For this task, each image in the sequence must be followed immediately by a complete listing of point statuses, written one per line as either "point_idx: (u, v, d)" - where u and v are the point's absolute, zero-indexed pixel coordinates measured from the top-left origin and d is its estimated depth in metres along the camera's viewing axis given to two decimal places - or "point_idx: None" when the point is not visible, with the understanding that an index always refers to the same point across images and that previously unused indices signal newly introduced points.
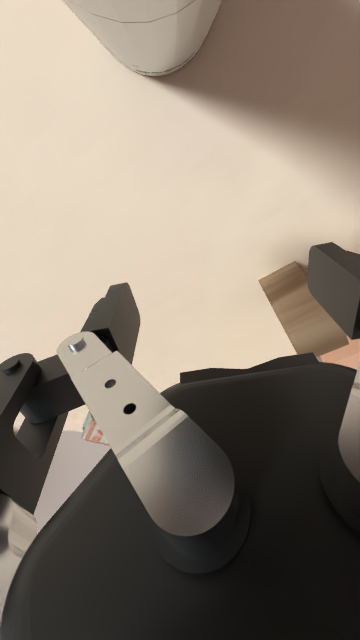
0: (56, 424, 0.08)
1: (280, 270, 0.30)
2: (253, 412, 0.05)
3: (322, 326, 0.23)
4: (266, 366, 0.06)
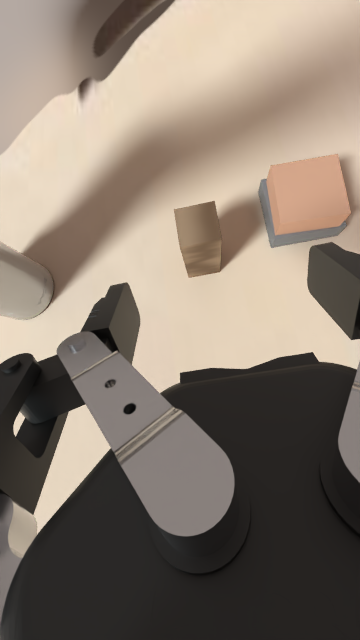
0: (56, 424, 0.08)
1: None
2: (253, 412, 0.05)
3: (183, 220, 0.28)
4: (266, 366, 0.06)
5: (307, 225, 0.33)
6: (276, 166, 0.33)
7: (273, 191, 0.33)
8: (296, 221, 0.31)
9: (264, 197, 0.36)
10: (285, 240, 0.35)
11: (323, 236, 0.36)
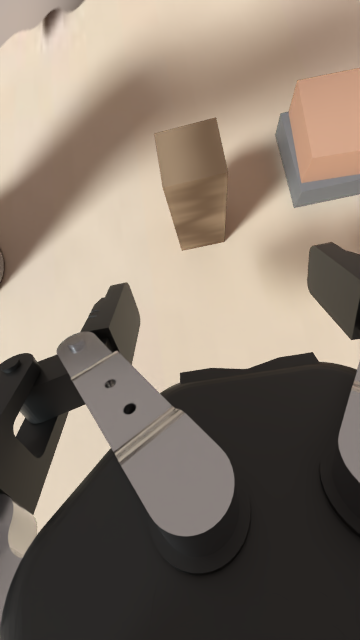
0: (56, 424, 0.08)
1: None
2: (253, 412, 0.05)
3: (169, 148, 0.18)
4: (266, 366, 0.06)
5: (350, 164, 0.23)
6: (305, 81, 0.23)
7: (300, 117, 0.23)
8: (336, 154, 0.21)
9: (285, 137, 0.26)
10: (316, 193, 0.25)
11: None
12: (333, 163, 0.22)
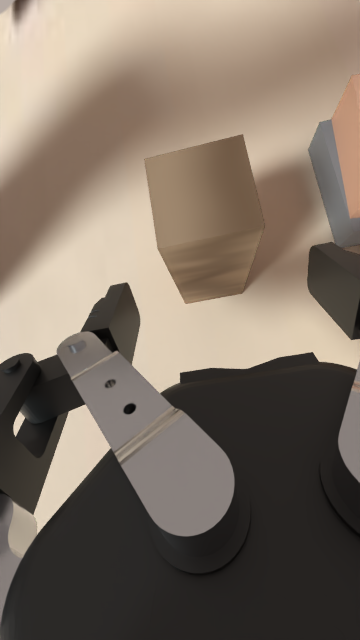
0: (56, 424, 0.08)
1: None
2: (253, 412, 0.05)
3: (168, 183, 0.12)
4: (266, 366, 0.06)
5: None
6: None
7: (355, 127, 0.16)
8: None
9: (326, 154, 0.19)
10: None
11: None
12: None
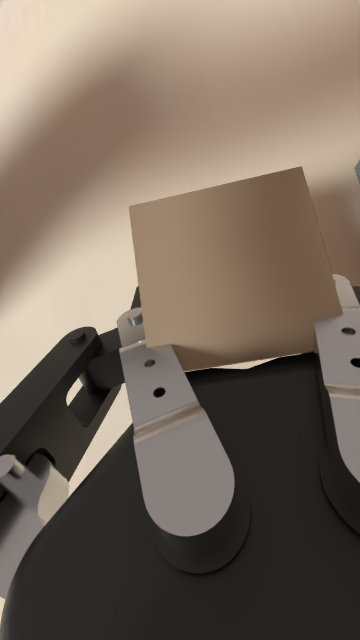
0: (106, 399, 0.09)
1: None
2: (253, 412, 0.05)
3: (169, 252, 0.07)
4: (266, 366, 0.06)
5: None
6: None
7: None
8: None
9: None
10: None
11: None
12: None
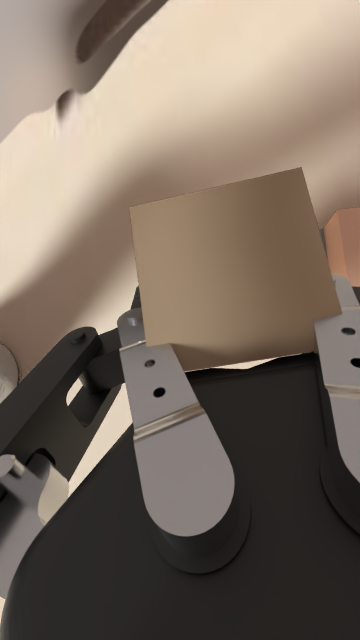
0: (107, 399, 0.09)
1: None
2: (253, 412, 0.05)
3: (169, 252, 0.07)
4: (266, 366, 0.06)
5: None
6: (346, 211, 0.21)
7: (339, 249, 0.21)
8: None
9: None
10: None
11: None
12: None
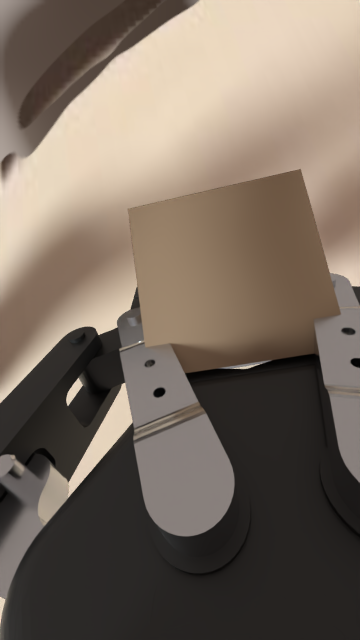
0: (106, 399, 0.09)
1: None
2: (253, 412, 0.05)
3: (168, 255, 0.07)
4: (266, 366, 0.06)
5: None
6: None
7: None
8: None
9: None
10: None
11: None
12: None
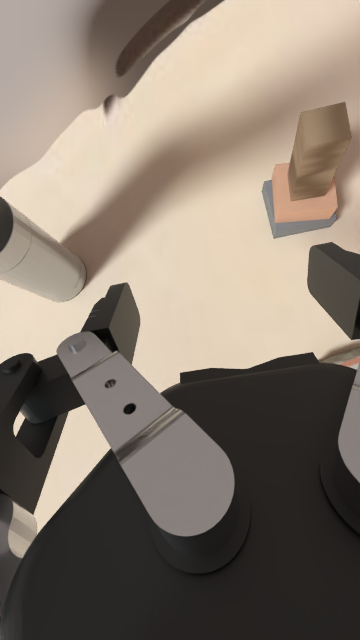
0: (56, 424, 0.08)
1: (289, 184, 0.39)
2: (253, 412, 0.05)
3: (311, 121, 0.29)
4: (266, 366, 0.06)
5: (301, 215, 0.39)
6: (280, 165, 0.40)
7: (276, 185, 0.40)
8: (292, 211, 0.38)
9: (267, 196, 0.43)
10: (286, 231, 0.42)
11: (318, 227, 0.42)
12: (292, 215, 0.39)
